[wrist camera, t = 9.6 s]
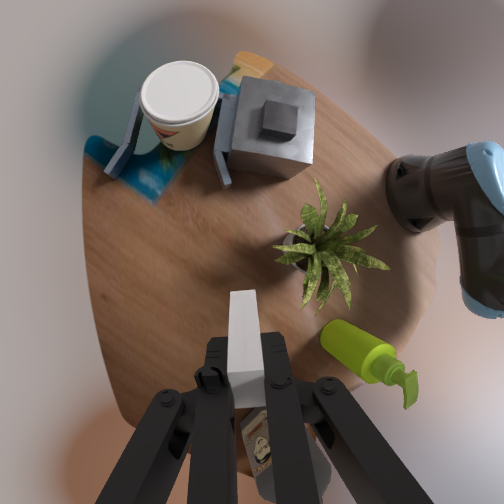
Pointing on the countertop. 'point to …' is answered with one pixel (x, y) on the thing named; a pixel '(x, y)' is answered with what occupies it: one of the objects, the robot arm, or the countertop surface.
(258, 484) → the liquor
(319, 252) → the house plant
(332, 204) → the countertop surface
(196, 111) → the coffee cup
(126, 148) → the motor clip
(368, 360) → the soap dispenser
